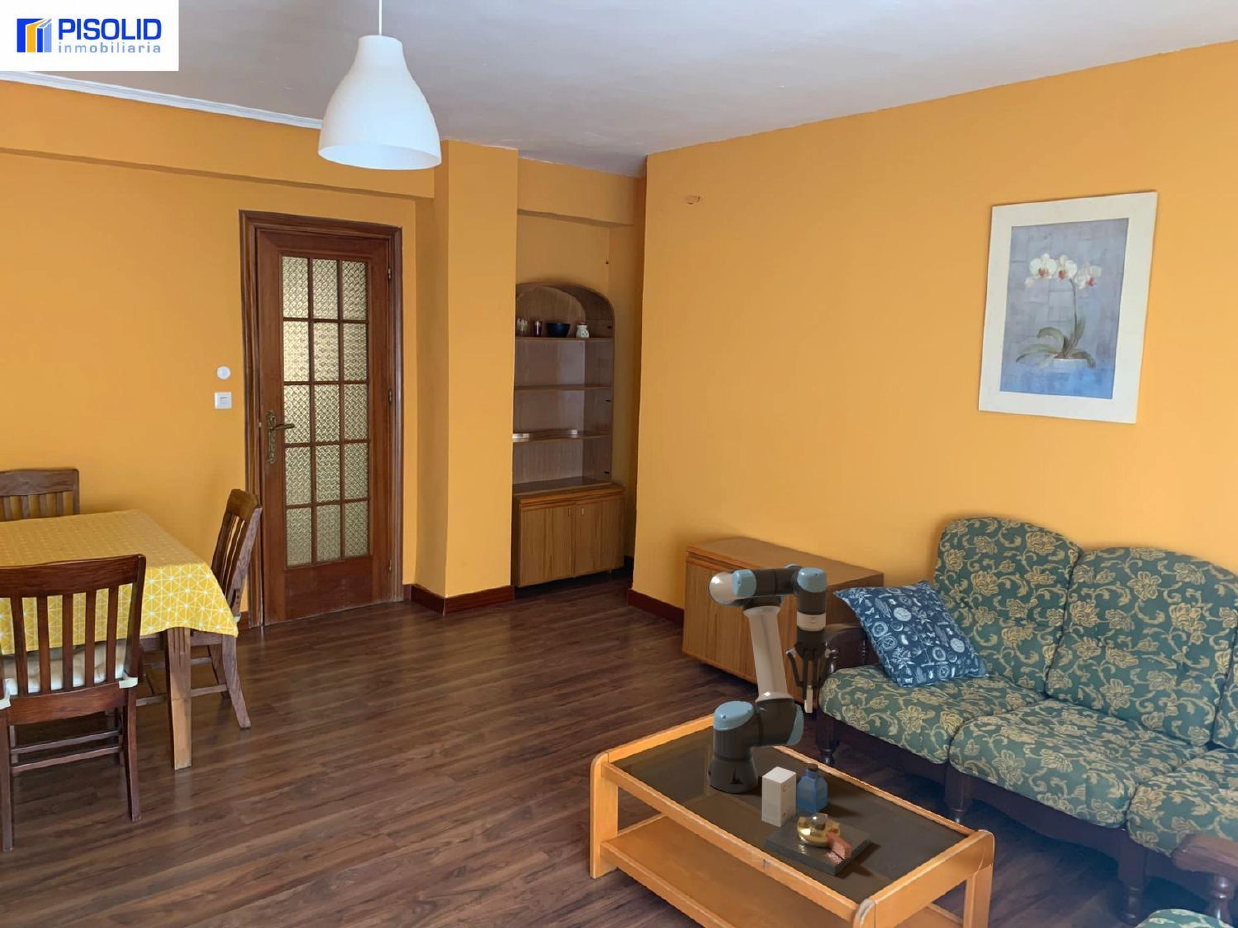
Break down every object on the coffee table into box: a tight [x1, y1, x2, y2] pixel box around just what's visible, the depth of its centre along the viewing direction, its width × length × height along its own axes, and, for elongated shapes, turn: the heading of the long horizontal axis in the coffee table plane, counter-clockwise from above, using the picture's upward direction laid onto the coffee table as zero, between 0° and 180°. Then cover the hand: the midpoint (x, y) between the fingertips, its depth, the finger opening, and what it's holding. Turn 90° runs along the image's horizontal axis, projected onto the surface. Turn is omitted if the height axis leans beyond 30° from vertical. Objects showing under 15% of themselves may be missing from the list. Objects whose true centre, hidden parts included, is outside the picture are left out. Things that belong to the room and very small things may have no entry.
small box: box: [761, 766, 797, 828], centre depth 256 cm, size 8×6×13 cm
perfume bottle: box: [796, 762, 829, 813], centre depth 263 cm, size 6×6×12 cm
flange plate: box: [764, 809, 872, 877], centre depth 243 cm, size 20×20×8 cm
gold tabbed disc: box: [797, 812, 851, 859], centre depth 240 cm, size 18×11×4 cm, turn 25°
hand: (808, 710), depth 251 cm, fingers closed
